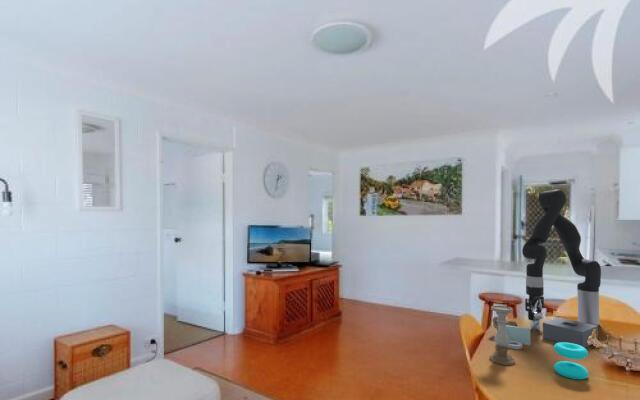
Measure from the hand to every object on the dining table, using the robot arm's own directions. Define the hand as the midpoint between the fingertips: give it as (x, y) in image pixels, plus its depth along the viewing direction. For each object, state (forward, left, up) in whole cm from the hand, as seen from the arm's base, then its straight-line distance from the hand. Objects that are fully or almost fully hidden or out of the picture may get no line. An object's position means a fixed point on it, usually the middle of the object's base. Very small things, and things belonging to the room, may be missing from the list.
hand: (534, 318), depth 181 cm
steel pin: (0, 0, -5) cm, 5 cm away
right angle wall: (+32, +7, -6) cm, 33 cm away
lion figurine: (+20, -4, -6) cm, 21 cm away
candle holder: (+52, +12, -6) cm, 54 cm away
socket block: (+2, +16, -5) cm, 17 cm away
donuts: (+43, +32, -6) cm, 54 cm away
